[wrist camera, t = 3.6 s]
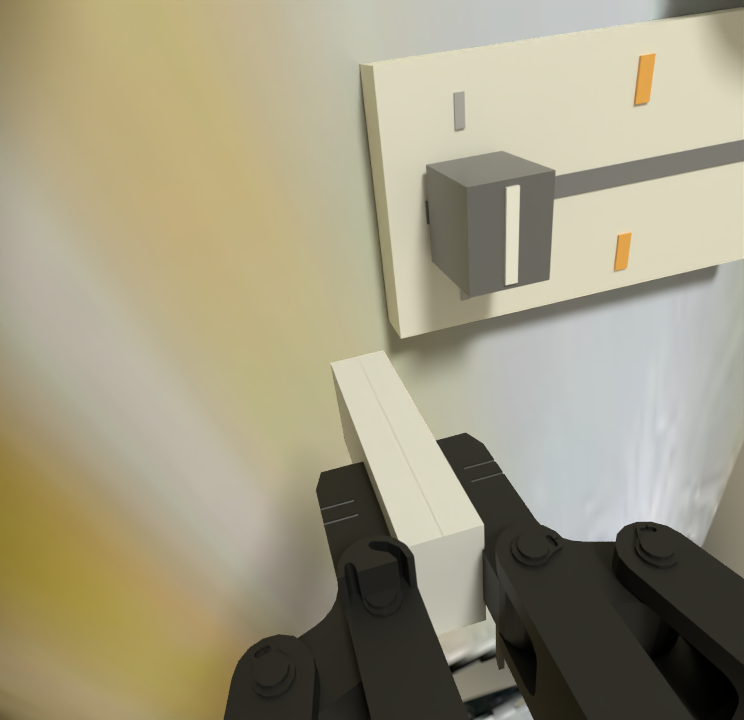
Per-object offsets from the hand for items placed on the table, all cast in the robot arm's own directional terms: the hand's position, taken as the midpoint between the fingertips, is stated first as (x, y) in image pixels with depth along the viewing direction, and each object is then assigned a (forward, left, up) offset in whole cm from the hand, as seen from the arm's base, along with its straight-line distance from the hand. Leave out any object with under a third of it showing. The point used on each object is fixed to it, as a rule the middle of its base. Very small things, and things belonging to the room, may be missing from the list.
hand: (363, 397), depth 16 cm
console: (+17, 0, -17) cm, 24 cm away
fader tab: (+9, 0, -14) cm, 16 cm away
